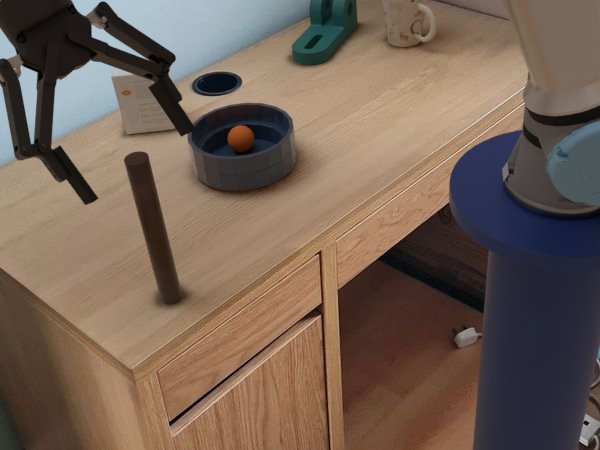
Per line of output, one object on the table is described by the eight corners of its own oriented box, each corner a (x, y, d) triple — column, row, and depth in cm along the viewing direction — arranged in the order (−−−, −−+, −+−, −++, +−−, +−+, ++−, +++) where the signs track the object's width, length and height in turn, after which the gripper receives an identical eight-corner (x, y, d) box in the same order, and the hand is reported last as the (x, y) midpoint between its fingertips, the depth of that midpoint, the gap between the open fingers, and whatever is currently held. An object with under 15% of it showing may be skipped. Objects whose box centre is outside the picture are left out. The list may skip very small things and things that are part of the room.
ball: (261, 149, 118) (258, 126, 116) (240, 160, 116) (236, 137, 114) (245, 140, 121) (241, 117, 118) (224, 151, 119) (220, 128, 116)
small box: (177, 112, 131) (165, 54, 124) (175, 130, 126) (162, 70, 120) (129, 117, 131) (115, 59, 124) (125, 135, 126) (110, 76, 120)
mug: (405, 26, 149) (405, -26, 143) (453, 46, 141) (455, -8, 135) (372, 40, 146) (370, -12, 139) (419, 62, 137) (420, 7, 131)
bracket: (325, 21, 154) (322, -18, 149) (357, 24, 152) (355, -15, 147) (286, 62, 142) (282, 21, 137) (321, 67, 139) (318, 25, 134)
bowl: (318, 161, 116) (315, 126, 112) (236, 207, 108) (230, 171, 105) (253, 126, 125) (249, 92, 121) (174, 166, 118) (167, 132, 114)
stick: (186, 296, 95) (153, 157, 83) (168, 307, 94) (132, 167, 81) (174, 286, 97) (140, 148, 84) (156, 296, 95) (119, 158, 83)
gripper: (105, -47, 88) (210, 113, 94) (-96, 60, 77) (38, 236, 82) (128, -74, 82) (239, 99, 87) (-88, 39, 70) (56, 231, 76)
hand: (142, 166), depth 85 cm, fingers open, 13 cm apart
